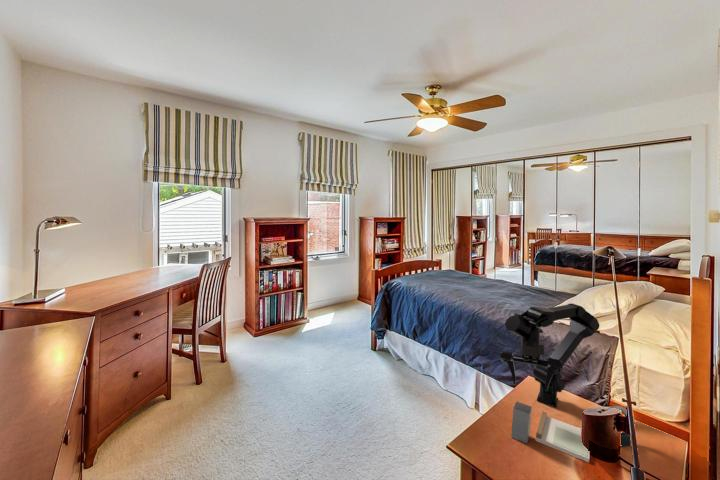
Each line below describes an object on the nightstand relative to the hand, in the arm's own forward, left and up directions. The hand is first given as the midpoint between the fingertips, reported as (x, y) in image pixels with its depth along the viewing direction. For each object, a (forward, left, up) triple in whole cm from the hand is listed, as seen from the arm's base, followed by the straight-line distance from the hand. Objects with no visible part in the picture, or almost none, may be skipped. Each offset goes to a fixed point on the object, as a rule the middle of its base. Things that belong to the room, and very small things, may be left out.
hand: (530, 387), depth 104 cm
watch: (-11, +24, -14) cm, 29 cm away
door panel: (-1, +10, -13) cm, 17 cm away
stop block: (+7, -1, -13) cm, 15 cm away
